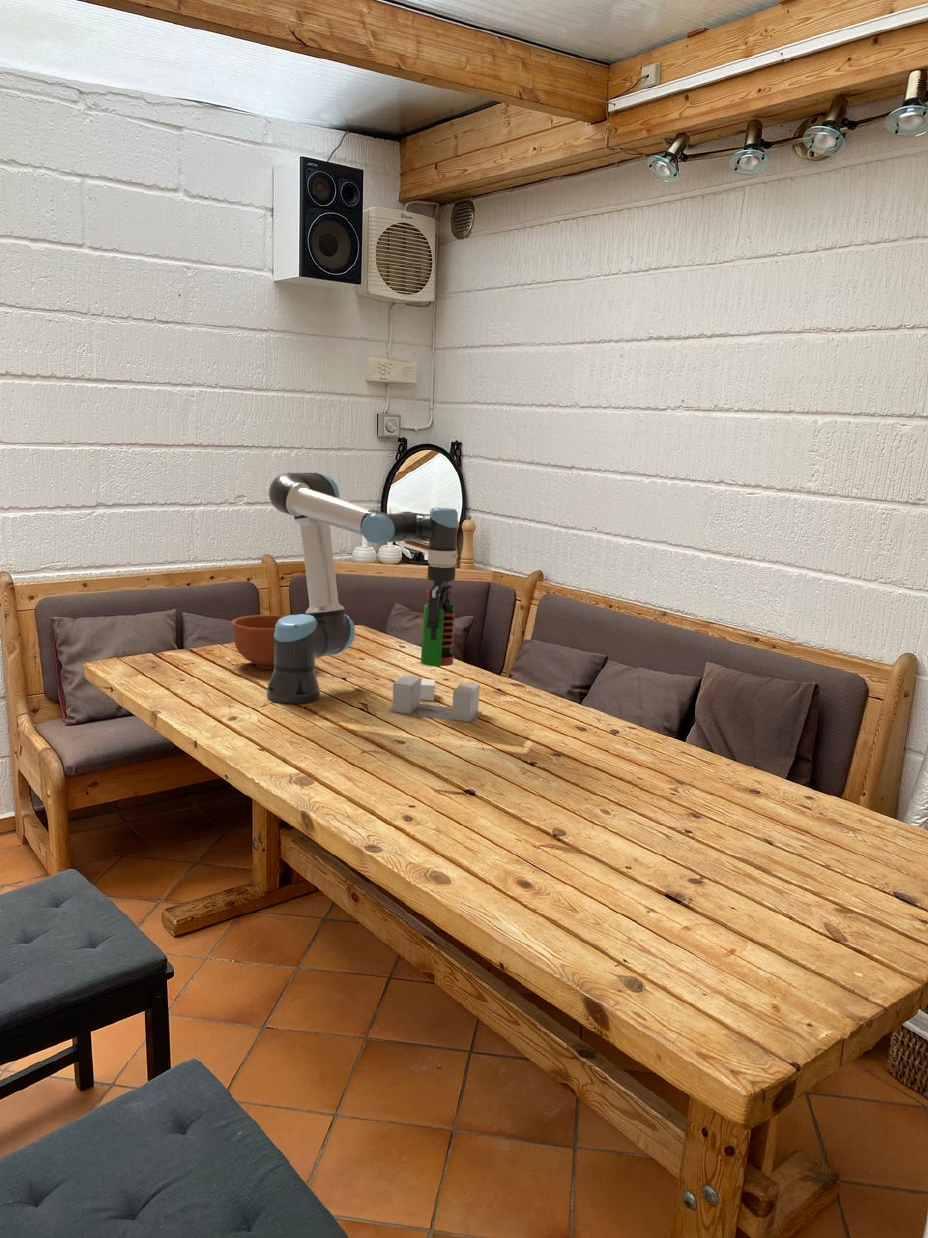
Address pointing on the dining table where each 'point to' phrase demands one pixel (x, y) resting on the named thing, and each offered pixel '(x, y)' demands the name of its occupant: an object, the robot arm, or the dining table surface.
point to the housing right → (465, 701)
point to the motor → (438, 638)
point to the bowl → (256, 638)
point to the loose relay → (427, 689)
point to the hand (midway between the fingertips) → (437, 648)
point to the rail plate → (435, 712)
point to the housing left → (406, 694)
